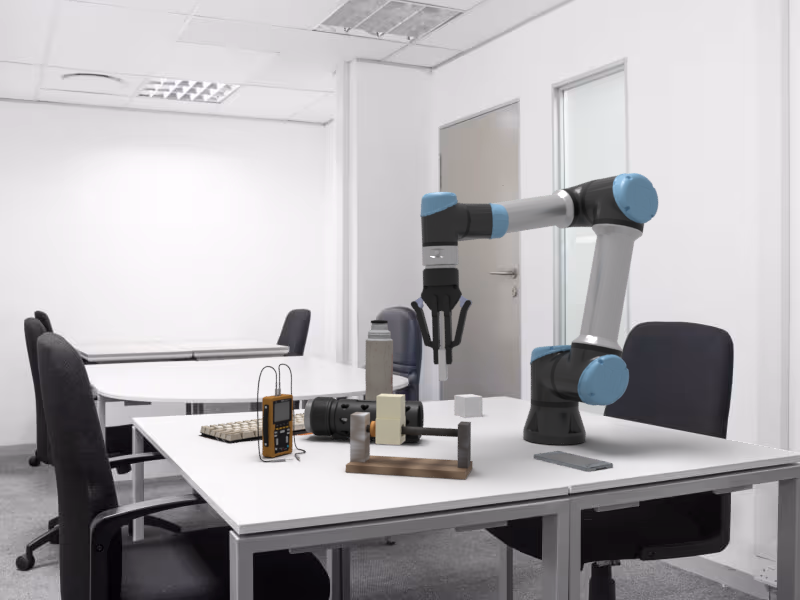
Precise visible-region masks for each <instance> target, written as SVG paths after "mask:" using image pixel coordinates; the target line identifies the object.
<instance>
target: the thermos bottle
mask: <svg viewBox="0 0 800 600" xmlns="http://www.w3.org/2000/svg"><path fill="white" fill-rule="evenodd" d="M370 324H371V325H370V330H369V331H367V338H366V339H365V374H364V375H365V397H364V398H365V399H364V400H376V396H378V395H380V394H394V393H393V391H394V387H393V386H394V382H393V381H394V380H393V379H394V378H393V376H394V339H392V334H391V333H392V332H391V330H389V326H388V320H385V319H374V320H370Z"/></svg>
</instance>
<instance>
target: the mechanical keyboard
mask: <svg viewBox="0 0 800 600" xmlns="http://www.w3.org/2000/svg"><path fill="white" fill-rule="evenodd" d="M258 420H259V441H262V418H258ZM294 432H295V436H308V435H314V434H313V433H308V432H307V431H306V429H305V425H304V412H302V413H296V414H294ZM199 433H200V434H199V435H197V436H199V437H202V438H205V439H208V440H213V441H217V442H223V443H229V444H235V443H245V442H258V429H257V419H256V418H255V419H254V418H253V419H250V420H248V419H246V420H242V421H234V422H233V421H231V422H226V423H218V424H210V425H202V426H201V427H200V431H199ZM293 437H294V433H293Z"/></svg>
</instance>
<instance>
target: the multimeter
mask: <svg viewBox="0 0 800 600" xmlns="http://www.w3.org/2000/svg"><path fill="white" fill-rule="evenodd" d="M281 366H286V367H287V368H288V370H289V373H290V393H289V394H288V393H282V388H281V370H280V367H281ZM277 367H278V373H277V370H276V369H275V368H274V367H273V366H270V365H265V366H264V367H263V368H262V369H261V371H260V373H259V376H258V382H257V392H256V393H257V394H256V395H257V397H256V418H257V429H258V441H257V447H258V455H259V460H260V461H261V462H263V463H273V462H274V463H276V462H286V461H293V460H294V458H277V459H275V458H276V457H278V456H282V455H286V454H287V455H288V454H292V452H293V447H294V446H295V449H297V450H298V451H301V452H296V453H294V456H295V457H296V458H297V460H299V461H301V457H300V456H299V455H301V454H305V453H306V450H305V449H302V448H298V446H297V444H296V438H295V432H294V415H295V407H294V395H293V374H292V370H291V367H290V366H289V365H288V364H286V363H279V365H278V366H277ZM265 368H271V369H272V370H273V371H274V372H275V389H274V394H273V395H265V396H263V397H262V402H261V403H262V407H261V408H262V409H261V410H262V412H261V414H262V415H261V417H262V440H261V443H262V444H261V445H262V448H260V440H259V391H260V380H261V376H262V373H263V371H264V370H265ZM293 433H294V436H293ZM293 444H294V446H293ZM260 449H262V452H261V450H260ZM261 455H262V456H261ZM262 457H265V458H272V460H263V459H262ZM273 458H274V459H273Z"/></svg>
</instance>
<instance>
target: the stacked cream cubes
mask: <svg viewBox="0 0 800 600" xmlns="http://www.w3.org/2000/svg"><path fill="white" fill-rule="evenodd" d="M405 401H406V394H400V393H399V394H398V393H393V394H380V395H378V396H376V440H375V444H376V445H391V446H393V445H394V446H395V445H396V446H400V445H402V444H403V443H405V442H404V441H405V434H401V426H405V425H406V416H405Z"/></svg>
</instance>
